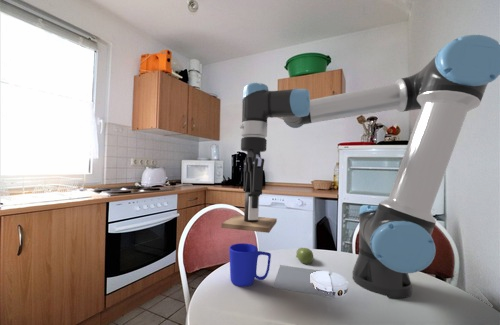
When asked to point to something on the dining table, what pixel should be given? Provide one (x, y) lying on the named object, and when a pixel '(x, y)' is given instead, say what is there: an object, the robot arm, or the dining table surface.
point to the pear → (305, 255)
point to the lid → (249, 221)
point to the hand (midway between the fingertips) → (251, 217)
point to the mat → (296, 280)
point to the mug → (245, 264)
